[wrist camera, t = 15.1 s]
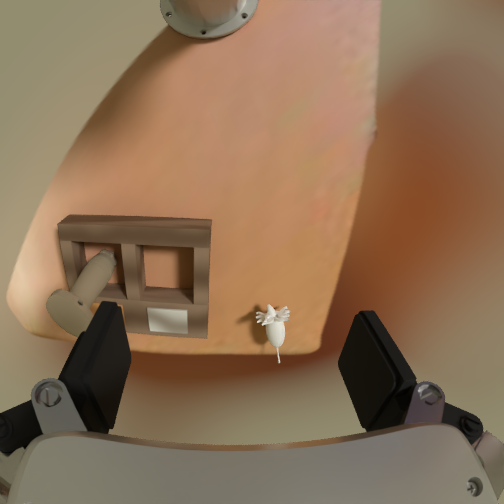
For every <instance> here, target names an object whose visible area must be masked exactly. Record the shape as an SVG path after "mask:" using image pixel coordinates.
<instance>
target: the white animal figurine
mask: <svg viewBox="0 0 504 504" xmlns="http://www.w3.org/2000/svg"><path fill="white" fill-rule="evenodd" d="M285 309H287V306H285V307H283V308H282V310H280V311H275V309H274V308H273V307H272V306H271V305H269V304H268V305H267V313H266V312H265V313H262V312H256V314H259V315H258V316H256V319H257V318H260V319H259V320H258V321H257V323H259V322H263V323H262V326H263V325H266V334H267V337H268V340H269V342H270V343H271V345H273V346H274V347H277V354H278V360H279V353H278V347H279V346H281V345H282V343H283V341H284V338H285V327H284V322H283V321H289V319H288V318H286V317H290V315H289V314H287V313H290V311H289V310H286V311H285ZM278 363H280V360H279V361H278Z"/></svg>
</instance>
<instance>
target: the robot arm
mask: <svg viewBox="0 0 504 504" xmlns="http://www.w3.org/2000/svg"><path fill="white" fill-rule="evenodd" d="M257 5H258V0H161V1H160V8H161V13H162V15H163V17H164V19H165V21H166V22H167V23H168V24H169V25H170V26H171V27H172V28H173V29H174V30H176V31H177V32H179V33H180V34H183V35H185V36H188V37H193V38H200V39H210V38H218V37H222V36H226V35H228V34H231V33H233V32H235V31H237V30H238V29H240V28H242V27H243V26H244V25H245V24H246V23H248V21H249V20H250V19H251V18H252V17H253V15H254V13H255V11H256V9H257ZM169 15H172V16H170V17H168V16H169ZM242 17H246V18H245V19H244V18H242ZM203 32H206V34H204V35H203V34H202V33H203ZM130 364H131V352H130V348H129V343H128V339H127V334H126V329H125V324H124V318H123V313H122V308H121V306H118V305H117V303H116V302H111V301H102V302H101V303H100V305H99V307H98V309H97V310H96V312H95V314H94V316H93V318H92V320H91V322H90V324H89V325H88V327H87V329H86V331H82V332H81V333H80V335H79V337H78V339H77V341H76V343H75V345H74V347H73V349H72V351H71V353H70V355H69V357H68V359H67V361H66V363H65V365H64V367H63V369H62V371H61V373H60V375H59V378H58V380H57V379H54V378H48V379H43V380H42V381H40V382H38V383H37V384H36V385H35V386H34V388H33V389H32V392H31V400H29V401H27V402H25V403H23V404H20V405H18V406H16V407H13V408H11V409H9V410H7V411H4V412H2V413H0V504H499V503H498V499H499V497H500V495H501V493H502V491H503V489H504V444H503V442H501V441H500V440H499V439H497V438H496V437H495V436H493V435H492V434H491V433H490V432H488V431H485V432H483V425H482V422H481V421H480V419H479V418H478V417H477V416H475V415H473V414H471V413H469V412H467V411H464V410H462V409H460V408H457V407H455V406H453V405H450V404H448V403H446V402H445V395H444V392H443V391H442V389H441V388H440V387H439V386H438V385H436V384H434V383H432V382H428V381H423V382H420V383H417V382H416V377H415V375H414V373H413V372H412V370H411V368H410V366H409V365H408V363H407V362H406V360H405V358H404V357H403V355H402V353H401V352H400V350H399V349H398V347H397V345H396V344H395V342H394V341H393V339H392V338H391V336H390V334H389V333H388V331H387V330H386V328H385V327H384V325H383V324H382V322H381V321H380V319H379V318H378V316H377V315H376V313H375V312H374V311H360V312H359V313H358V314H357V315H355V317H354V320H353V323H352V326H351V328H350V331H349V334H348V336H347V339H346V342H345V344H344V347H343V350H342V352H341V355H340V357H339V360H338V367H339V370H340V372H341V375H342V377H343V380H344V382H345V385H346V387H347V390H348V392H349V395H350V398H351V400H352V403H353V405H354V408H355V411H356V413H357V416H358V419H359V421H360V424H361V426H362V428H365V429H366V431H367V432H365V433H359V434H354V435H348V436H342V437H336V438H328V439H321V440H312V441H303V442H293V443H281V444H280V443H279V444H263V445H262V444H260V445H207V444H187V443H175V442H164V441H154V440H146V439H138V438H131V437H124V436H118V435H111V434H108V432H109V429H113V427H114V424H115V420H116V415H117V412H118V408H119V404H120V400H121V396H122V393H123V389H124V385H125V381H126V378H127V375H128V371H129V368H130Z"/></svg>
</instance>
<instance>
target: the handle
mask: <svg viewBox="0 0 504 504" xmlns="http://www.w3.org/2000/svg"><path fill="white" fill-rule="evenodd" d="M116 264H117V260H116V259H115V254H114V252H112V251H111V252H110V251H107V250H106V249H104V250H102V251H101V252H100V254H98V255H96V256H95V257H94V258H92V259H91V260H90V261H89V262H88V264H87V265H86V266H85V267H84V269H83V270H82V272H81V274H80V275H79V277H78V279H77V280H76V282H75V283H74V285H73V287H72V288H71V290H70V291H66V290H63V289H58V290H56V291H54V292H53V293H52V295H51V296H50V297H49V298H48V300H47V303H46V308H47V310H48V312H49V314H50V315H51V317H52V318H53V320H54V321H55V322H56V323H57V324H58V325H59V326H60V327H61V328H63V329H64V330H65V331H66V332H68V333H70V334H72V335H74V336H76V337H79V335H80V333H81V332H82V331H86V329H87V327H88V325H89V324H90V322H91V320H92V318H93V314H92V312H91V310H90V307H91V306H92V304H93V303H94V301H95V300H96V298H97V297H98V296H99V294H100V293H101V292H102V290H103V289H104V288H105V286H106V285H107V283H108V281H109V280H110V278H111V275H112V273H113V270H114V267H115V266H116Z"/></svg>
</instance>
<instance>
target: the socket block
mask: <svg viewBox="0 0 504 504" xmlns="http://www.w3.org/2000/svg"><path fill="white" fill-rule="evenodd" d="M211 223H212V220H210V219H190V218H168V217H143V216H111V215H68V216H67V217H66V218H64V219H63V220H62V221H61V222H59V223H58V224H57V225H58V232H59V239H60V245H61V251H62V257H63V262H64V267H65V272H66V276H67V281H68V285H69V290H71V288H72V287H73V285H74V283H75V282H76V280H77V279H78V277H79V275H80V274H81V272H82V270H83V269H84V267H85V266H86V265H87V262H86V256H85V249H84V242H98V243H117V244H121V250H122V260H123V269H124V277H125V285H122V284H110V283H107V285H106V286H105V288H104V289H103V290H102V292H101V293H100V294H99V296H98V297H97V298H96V300H95V301H94V303H93V304H92V306H91V307H90V310H91V312H92V314H93V316H94V314H95V312H96V310H97V309H98V307H99V305H100V303H101V302H102V301H111V302H116V303H117V305H118V306H121V308H122V313H123V318H124V324H125V329H126V332H129V333H138V334H149V335H160V336H173V337H187V338H204V339H207V334H208V303H209V269H210V244H211ZM143 245H156V246H175V247H194V289H178V288H162V287H148V286H146V280H145V269H144V255H143Z"/></svg>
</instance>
